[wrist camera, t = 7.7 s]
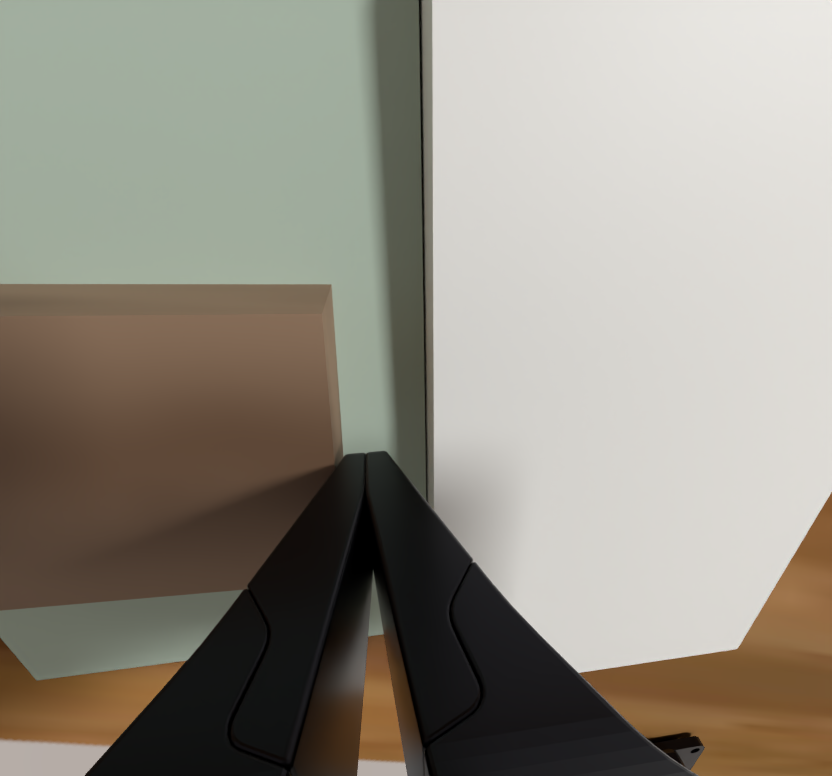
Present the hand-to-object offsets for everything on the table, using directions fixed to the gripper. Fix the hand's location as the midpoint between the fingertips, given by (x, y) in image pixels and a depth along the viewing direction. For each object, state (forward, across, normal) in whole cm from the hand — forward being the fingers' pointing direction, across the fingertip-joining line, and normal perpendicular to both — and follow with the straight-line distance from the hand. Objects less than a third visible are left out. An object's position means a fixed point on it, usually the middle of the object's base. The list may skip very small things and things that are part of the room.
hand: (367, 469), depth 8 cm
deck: (+2, -7, +1) cm, 7 cm away
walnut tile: (+2, +5, -1) cm, 5 cm away
